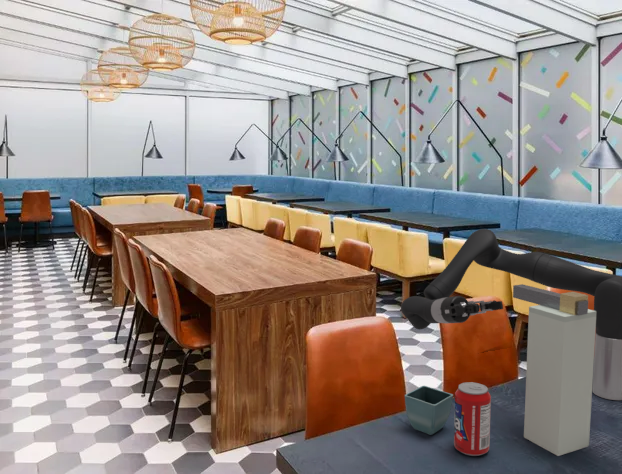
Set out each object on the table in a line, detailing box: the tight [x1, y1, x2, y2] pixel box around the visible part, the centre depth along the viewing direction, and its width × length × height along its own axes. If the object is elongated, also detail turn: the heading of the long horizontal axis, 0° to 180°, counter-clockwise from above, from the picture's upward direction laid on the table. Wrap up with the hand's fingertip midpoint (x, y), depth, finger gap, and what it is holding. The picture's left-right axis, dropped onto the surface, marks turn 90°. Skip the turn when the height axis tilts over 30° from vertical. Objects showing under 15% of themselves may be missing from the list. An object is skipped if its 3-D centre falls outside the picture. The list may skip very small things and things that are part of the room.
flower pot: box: [404, 385, 454, 436], centre depth 143 cm, size 9×9×9 cm
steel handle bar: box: [512, 283, 589, 315], centre depth 135 cm, size 4×19×4 cm, turn 26°
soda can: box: [453, 381, 492, 457], centre depth 132 cm, size 8×8×15 cm
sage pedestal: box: [523, 304, 596, 457], centre depth 134 cm, size 10×10×32 cm
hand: (489, 306), depth 153 cm, fingers open, 8 cm apart
